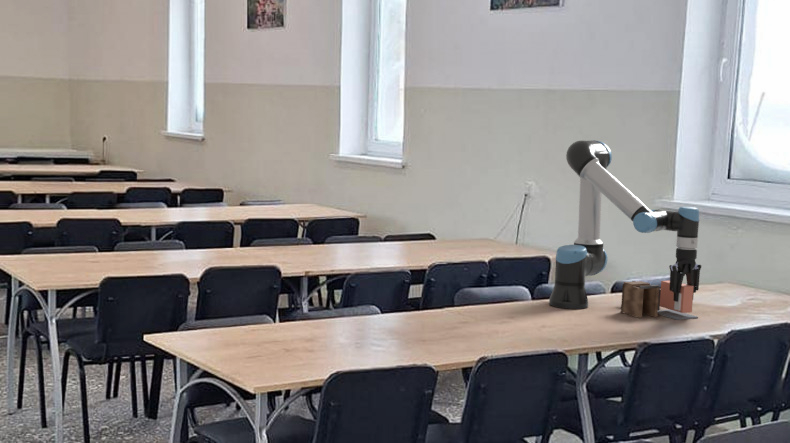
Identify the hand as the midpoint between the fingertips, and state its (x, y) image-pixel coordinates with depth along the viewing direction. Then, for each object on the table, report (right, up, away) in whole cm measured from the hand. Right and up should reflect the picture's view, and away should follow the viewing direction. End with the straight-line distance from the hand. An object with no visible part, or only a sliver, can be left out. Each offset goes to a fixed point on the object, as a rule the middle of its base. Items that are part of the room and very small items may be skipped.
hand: (682, 309), depth 370 cm
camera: (-8, -1, +19) cm, 21 cm away
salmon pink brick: (-2, 0, +4) cm, 4 cm away
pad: (-2, -3, +4) cm, 5 cm away
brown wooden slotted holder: (-16, -2, +3) cm, 16 cm away
